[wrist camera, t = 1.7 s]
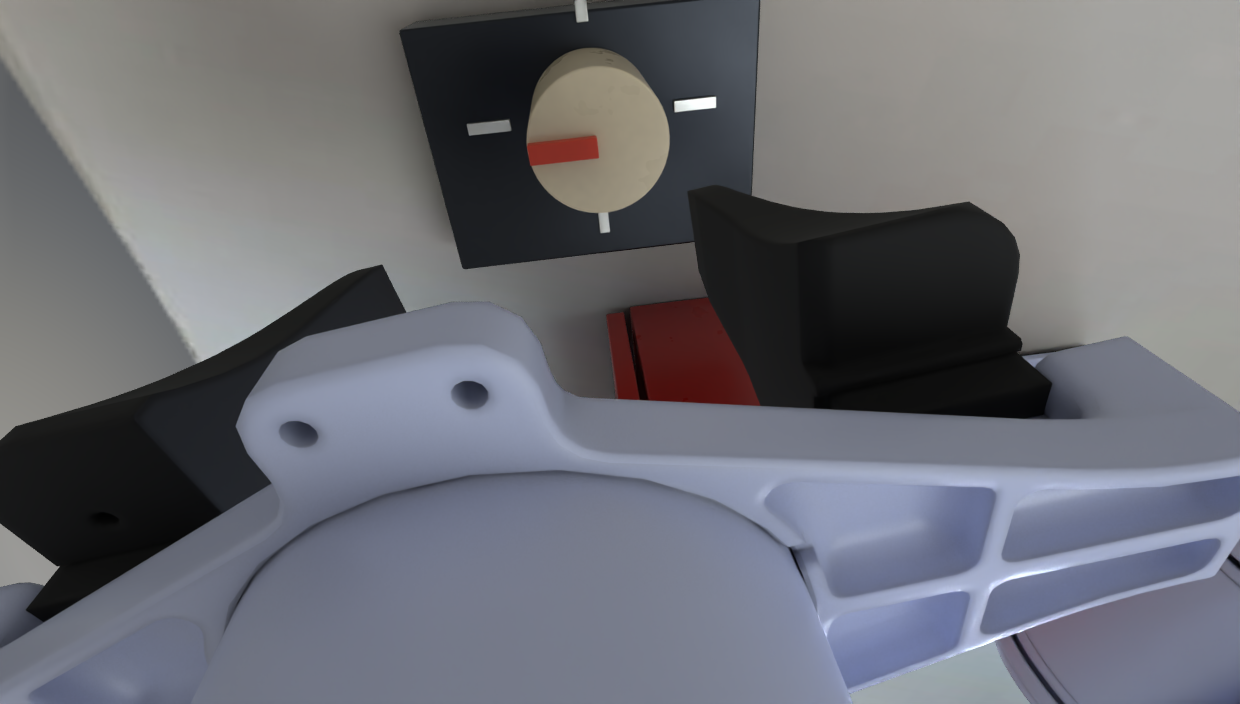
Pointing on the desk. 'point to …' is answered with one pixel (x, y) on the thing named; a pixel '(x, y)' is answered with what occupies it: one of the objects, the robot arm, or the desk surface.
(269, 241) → the desk surface
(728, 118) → the panel
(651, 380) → the cabinet
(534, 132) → the lock dial
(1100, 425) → the robot arm
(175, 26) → the desk surface
